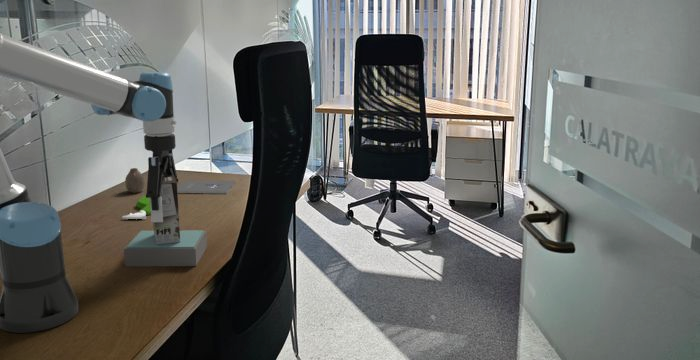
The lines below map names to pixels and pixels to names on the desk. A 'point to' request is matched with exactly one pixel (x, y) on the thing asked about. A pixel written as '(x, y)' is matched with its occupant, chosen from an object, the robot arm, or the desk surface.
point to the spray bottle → (145, 209)
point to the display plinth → (166, 250)
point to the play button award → (205, 186)
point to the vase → (134, 181)
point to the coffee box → (168, 213)
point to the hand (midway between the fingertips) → (164, 214)
